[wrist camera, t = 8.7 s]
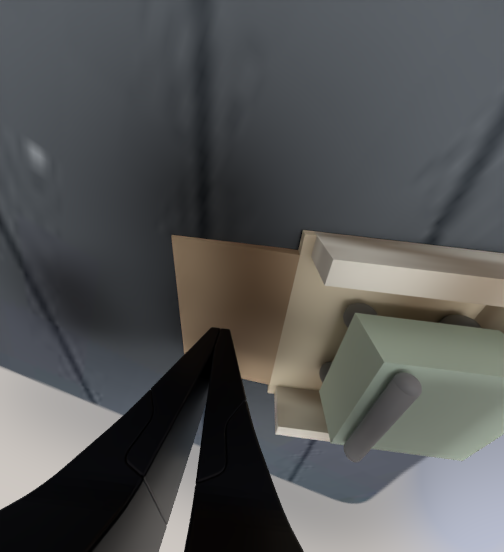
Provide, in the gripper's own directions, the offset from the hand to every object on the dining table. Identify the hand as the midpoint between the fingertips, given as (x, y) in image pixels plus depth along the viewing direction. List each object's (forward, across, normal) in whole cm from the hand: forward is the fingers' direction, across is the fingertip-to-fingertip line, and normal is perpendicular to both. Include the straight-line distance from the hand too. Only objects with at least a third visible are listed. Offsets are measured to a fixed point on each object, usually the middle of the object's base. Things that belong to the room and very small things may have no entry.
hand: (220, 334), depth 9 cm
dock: (+1, -4, 0) cm, 5 cm away
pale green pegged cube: (0, -7, 0) cm, 7 cm away
